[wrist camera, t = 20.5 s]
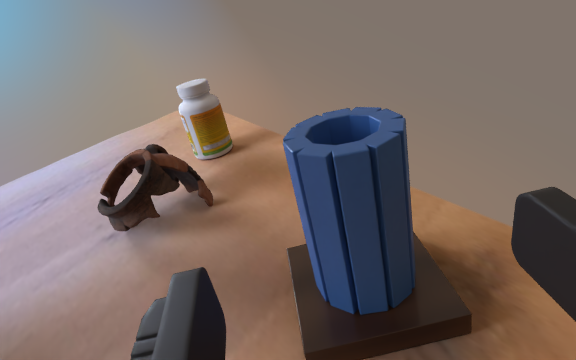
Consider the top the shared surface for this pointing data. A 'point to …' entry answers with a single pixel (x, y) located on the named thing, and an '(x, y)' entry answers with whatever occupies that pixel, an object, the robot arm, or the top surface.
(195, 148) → the supplement bottle
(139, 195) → the brown curved piece
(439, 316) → the stand
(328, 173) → the fluted pencil holder
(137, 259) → the top surface
